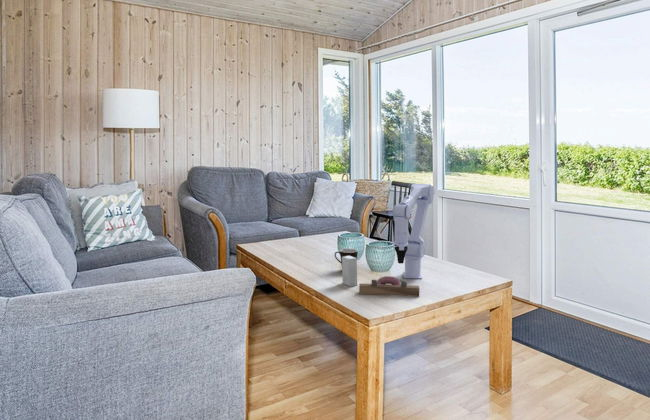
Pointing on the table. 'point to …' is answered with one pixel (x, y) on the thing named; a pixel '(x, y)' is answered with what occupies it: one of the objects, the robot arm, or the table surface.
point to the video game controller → (388, 280)
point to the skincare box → (349, 270)
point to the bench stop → (389, 289)
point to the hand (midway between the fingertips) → (400, 263)
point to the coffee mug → (347, 253)
